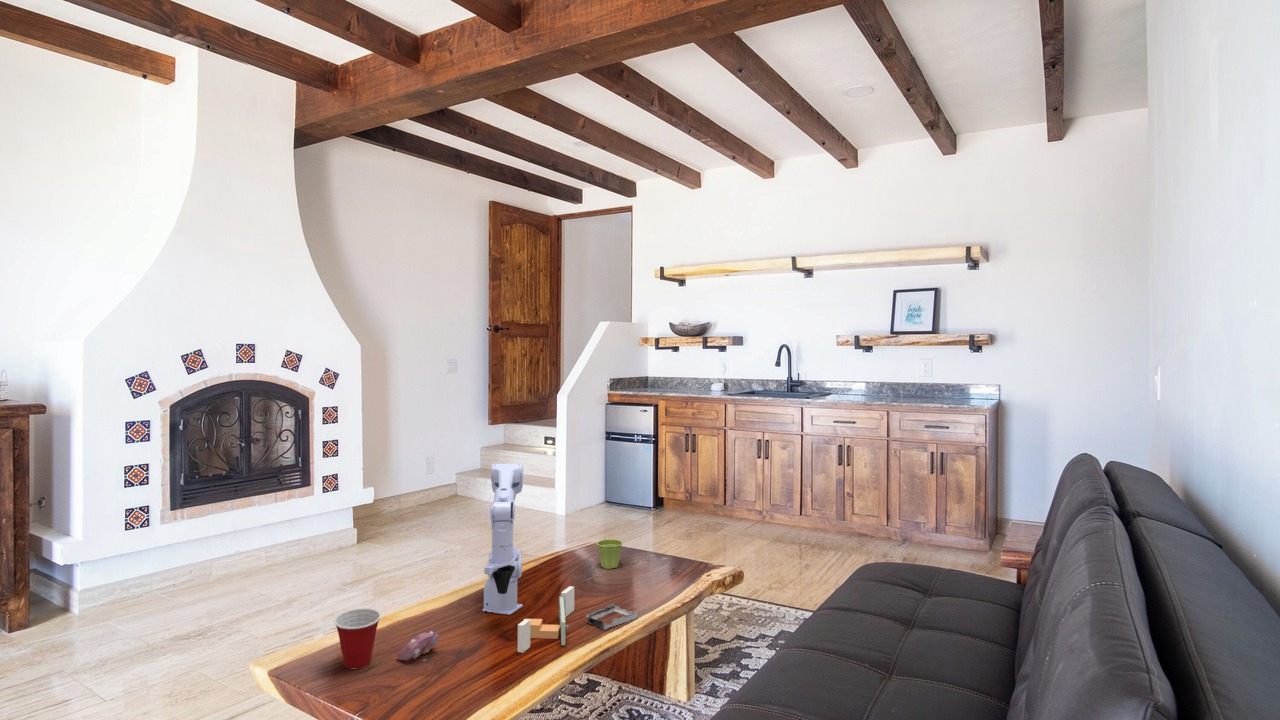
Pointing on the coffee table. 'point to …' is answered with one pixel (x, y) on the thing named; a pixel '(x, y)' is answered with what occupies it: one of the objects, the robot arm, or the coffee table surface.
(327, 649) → the coffee table surface
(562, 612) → the door
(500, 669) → the coffee table surface
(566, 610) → the door frame
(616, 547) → the plant pot
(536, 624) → the stepped wooden block
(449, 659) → the coffee table surface
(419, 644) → the pink elongated piece
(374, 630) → the plastic cup
